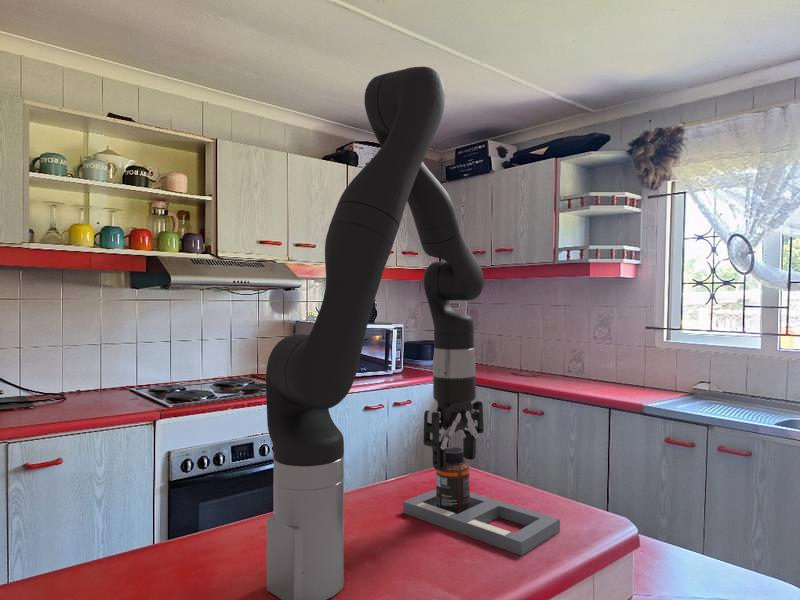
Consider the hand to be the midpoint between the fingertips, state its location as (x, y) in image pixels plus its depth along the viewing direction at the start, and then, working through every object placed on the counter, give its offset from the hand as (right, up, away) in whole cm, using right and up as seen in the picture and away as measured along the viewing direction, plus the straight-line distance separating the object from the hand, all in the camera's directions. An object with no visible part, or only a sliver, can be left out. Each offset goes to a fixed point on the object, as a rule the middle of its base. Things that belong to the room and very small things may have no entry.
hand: (455, 464), depth 98 cm
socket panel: (+4, -9, -4) cm, 10 cm away
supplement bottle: (0, -9, 0) cm, 9 cm away
